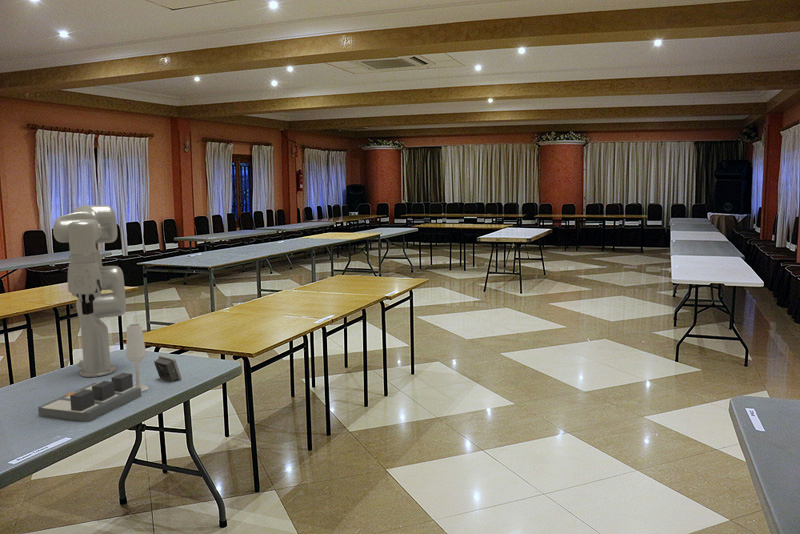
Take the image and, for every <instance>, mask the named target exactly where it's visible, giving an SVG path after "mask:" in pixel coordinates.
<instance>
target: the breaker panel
mask: <svg viewBox="0 0 800 534" xmlns="http://www.w3.org/2000/svg"><path fill="white" fill-rule="evenodd" d="M110 379H111V382H114V391H115V395H113V396H111V397H109V398H107V399H105V400H95V399H94V391H92V386H94V385H96V384H98V383H99V382H98V383H97V382H93V383H91V384H89V385H87V386H84V387H82V388H78V389H77V390H75V391H71V392H69V393H67V394H65V395H63V396H61V397H58V398H55V399H53V400H51V401H48V402H46V403H44V404H42V405H39V406H38V408H37V410H38V416H40V417H46V418H55V419H61V420H69V419H71V420H72V421H77V420H79V422H85V421H87V423H91V422H93V421H94V419H95V420H97V419H99V418H100V417H102V416H105V415H106V414H109V413H110V412H112V411H115V410H117V409H118V408H120V407H122V406H124V405H127V404H128V403H130V402H132V401H134V400H137V399H139V398H140V397H142V391H141V388H137V386H134V382H133V381H134V380H133V373H129V372H128V373H127V372H122V373H119V374H116V375H114V376H112V377H111V378H110ZM98 417H99V418H98ZM96 418H97V419H96ZM92 420H93V421H92ZM90 421H91V422H90Z"/></svg>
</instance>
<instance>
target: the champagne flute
mask: <svg viewBox="0 0 800 534" xmlns="http://www.w3.org/2000/svg"><path fill="white" fill-rule="evenodd" d="M143 332H144V331H143V327H142V324H141V323H130V324H128V325H126V345H125V346H126V349H125V351H126V352H125V356H126V359H127V360H128V361H130V362H131V363H133V364H134V365H135V367H134V368H135V378H136V379H135V381H136V383H135V385H134V384H133V386H137V388H141V392H143V391H147V390H148V389H149V386H147V385H145V384H142V383H141V381H140V380H141V379H140V378H141V377H140V364H139V363H141V362H142V361H143V360H144V359H145V357H146V355H147V349H146V345H145V344H146V343H145V339H144V338H145V337H144V333H143Z"/></svg>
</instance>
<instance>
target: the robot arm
mask: <svg viewBox="0 0 800 534" xmlns="http://www.w3.org/2000/svg"><path fill="white" fill-rule="evenodd" d="M117 224H118V222H117V215H116V212H115V211H114V209H113V207H111V206H110V205H105V204H103V205H102V204H101V205H97V204H96V205H92V204H91V205H80V206H78V207H76V208H74V210H73V211H72V213H71V212H70V213H68V214H65V215H59V216H58V217H56V218H55V220H54V223H53V226H52V232H53V237H54V239H55V240H56V241H57V242H59V243H68V245H69V254H70V255H69V257H68V258H69V260H70V263H68V268H67V290H68V293H70V294H71V295H72V296H73V297H76V298H77V299H76V304H75V307H76V312H77V316H78V319H79V326H80V335H81V336H80V337H81V348H82V356H83V357H82V360H79V362H77V364H76V366H77V367H79V368H80V367H81V370H80V371H79V375H80V376H81V377H83V378H85V377H86V378H95V377H103V376H106V375H109V374H112V373H114V372H115V371H116V366H114V365H111V355H110V340H109V338H110V337H109V330H108V326H107V325H106V323H105V322H104V321H103V320H101V319H103V318H113V317H120V316H123V315H125V313H126V312H127V311H126V309H127V301H126V289H125V278H124V272H123V270H122V268H121V267H119V266H118V265H105V266H103V261H102V253H101V252H100V251H99V250H98V249H97V247H96V244H110V243H114V242H115V241H116V240H117V238H118V225H117ZM107 290H108V291H111V292H106V293H105V292H104V293H102V291H107Z"/></svg>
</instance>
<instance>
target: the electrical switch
mask: <svg viewBox="0 0 800 534" xmlns="http://www.w3.org/2000/svg"><path fill="white" fill-rule="evenodd" d="M153 363H154V365H155V369H156V372H157V374H158V377H159V379H161V380H164V381H168V382H171V383H172V382H173V383H174V381H177V380H179V381H180V380H181V379H182V375H181V372H180V369H179V367H178V363H177V360H176V359H175V357H171V356H166V355H162V354H159V355H158V358H157V359H155V360H154V361H153Z"/></svg>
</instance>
